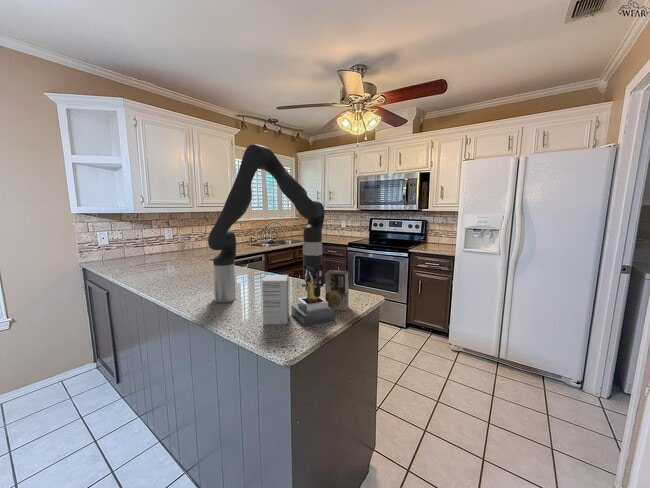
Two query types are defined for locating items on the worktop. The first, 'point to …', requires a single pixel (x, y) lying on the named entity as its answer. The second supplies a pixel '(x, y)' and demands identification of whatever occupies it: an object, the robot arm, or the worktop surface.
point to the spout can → (310, 292)
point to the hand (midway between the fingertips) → (312, 293)
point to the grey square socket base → (312, 312)
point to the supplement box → (275, 299)
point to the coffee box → (337, 289)
